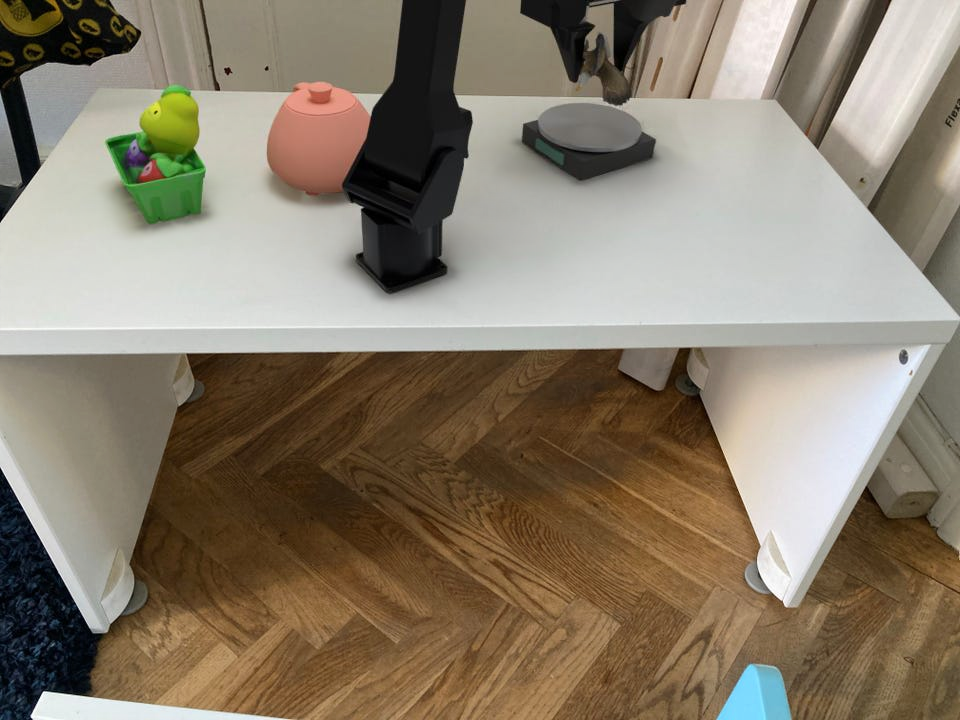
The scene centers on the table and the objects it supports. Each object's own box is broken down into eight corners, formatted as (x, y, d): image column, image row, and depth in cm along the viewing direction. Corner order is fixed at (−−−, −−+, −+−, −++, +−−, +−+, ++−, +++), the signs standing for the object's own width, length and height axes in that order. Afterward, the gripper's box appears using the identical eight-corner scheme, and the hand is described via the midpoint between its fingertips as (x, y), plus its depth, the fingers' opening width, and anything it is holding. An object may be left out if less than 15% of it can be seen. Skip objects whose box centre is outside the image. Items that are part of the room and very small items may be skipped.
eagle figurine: (537, 71, 92) (582, 85, 85) (568, 10, 91) (615, 20, 84) (584, 101, 97) (630, 117, 90) (614, 43, 95) (663, 55, 88)
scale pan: (582, 161, 89) (583, 156, 88) (517, 120, 96) (517, 115, 96) (662, 137, 94) (663, 132, 94) (595, 100, 102) (595, 95, 101)
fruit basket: (114, 183, 86) (85, 77, 79) (199, 166, 90) (178, 64, 83) (138, 234, 79) (108, 123, 72) (229, 214, 83) (209, 106, 75)
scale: (578, 181, 91) (580, 161, 89) (519, 143, 98) (520, 123, 96) (652, 158, 96) (656, 139, 94) (591, 123, 103) (594, 104, 101)
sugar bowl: (291, 215, 83) (279, 119, 76) (251, 157, 92) (237, 66, 86) (402, 190, 88) (400, 98, 81) (353, 137, 97) (348, 50, 90)
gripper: (598, -50, 72) (577, 120, 82) (743, -71, 80) (708, 85, 90) (522, -78, 79) (511, 82, 89) (663, -95, 87) (638, 53, 97)
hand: (596, 76), depth 91 cm, fingers closed on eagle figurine, 6 cm apart
